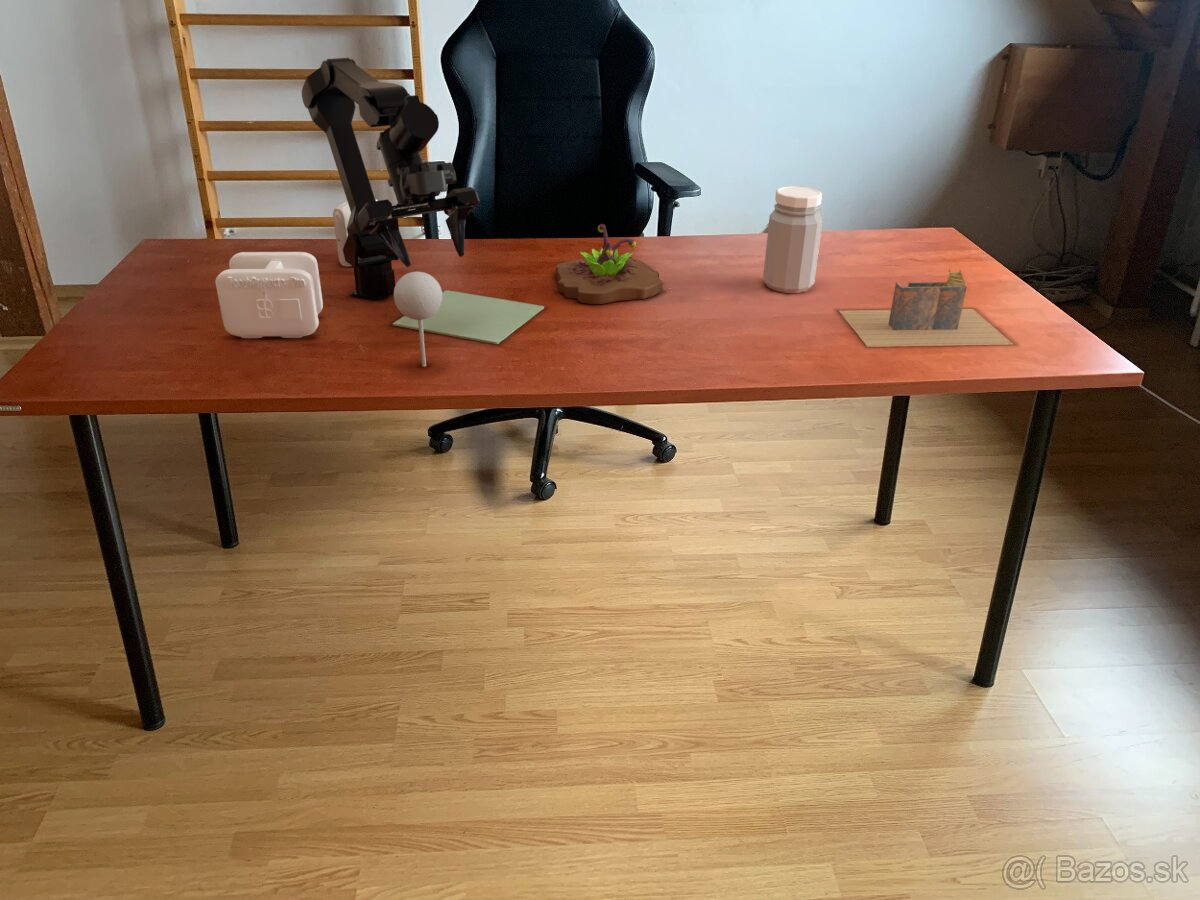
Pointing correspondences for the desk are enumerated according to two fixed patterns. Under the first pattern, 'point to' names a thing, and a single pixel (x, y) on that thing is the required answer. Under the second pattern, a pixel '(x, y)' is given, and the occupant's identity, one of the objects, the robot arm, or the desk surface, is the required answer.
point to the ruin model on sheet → (925, 318)
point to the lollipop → (418, 300)
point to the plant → (607, 276)
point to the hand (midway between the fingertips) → (435, 261)
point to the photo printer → (341, 229)
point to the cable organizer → (270, 294)
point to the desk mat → (475, 317)
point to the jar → (793, 240)
